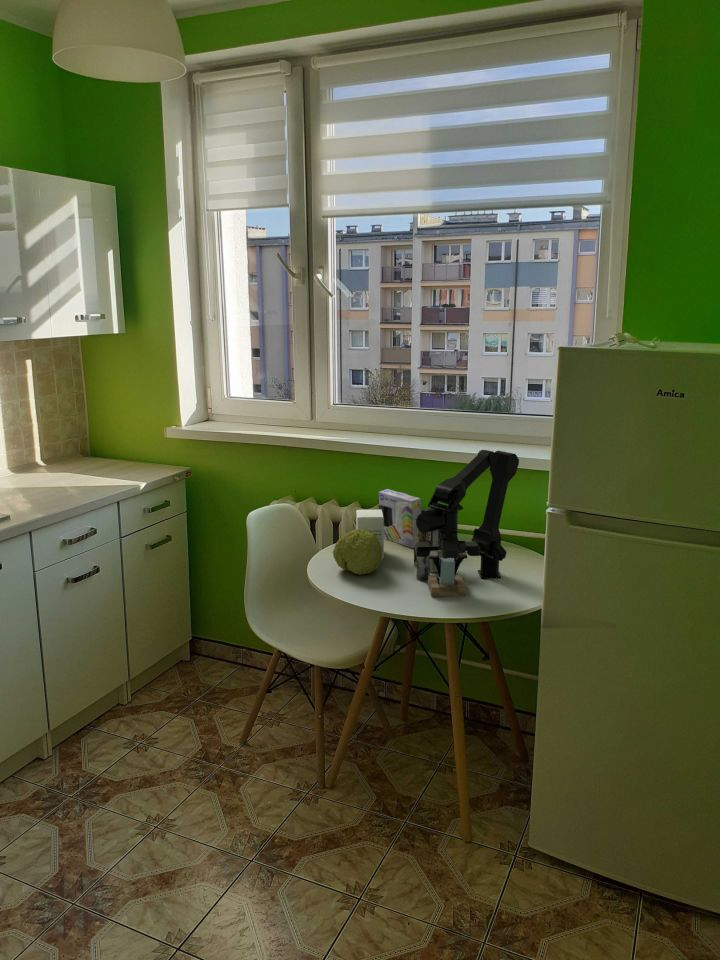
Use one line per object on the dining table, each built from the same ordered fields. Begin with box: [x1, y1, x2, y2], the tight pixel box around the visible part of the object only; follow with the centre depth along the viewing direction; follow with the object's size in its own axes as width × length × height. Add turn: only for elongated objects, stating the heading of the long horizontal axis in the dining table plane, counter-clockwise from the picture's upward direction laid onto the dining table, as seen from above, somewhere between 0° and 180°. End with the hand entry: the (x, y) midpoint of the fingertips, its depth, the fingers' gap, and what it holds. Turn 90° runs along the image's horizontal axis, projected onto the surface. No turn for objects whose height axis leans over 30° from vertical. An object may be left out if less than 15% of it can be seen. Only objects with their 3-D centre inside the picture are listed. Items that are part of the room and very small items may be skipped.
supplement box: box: [355, 509, 385, 560], centre depth 260 cm, size 9×9×15 cm
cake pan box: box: [377, 488, 422, 549], centre depth 273 cm, size 19×5×18 cm, turn 38°
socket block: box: [427, 574, 467, 598], centre depth 231 cm, size 10×10×3 cm
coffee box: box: [413, 518, 443, 573], centre depth 248 cm, size 9×6×16 cm
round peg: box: [416, 557, 431, 582], centre depth 240 cm, size 4×4×8 cm
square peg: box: [439, 558, 455, 585], centre depth 230 cm, size 4×4×8 cm
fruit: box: [332, 528, 383, 576], centre depth 245 cm, size 16×14×15 cm
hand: (446, 576), depth 230 cm, fingers closed on square peg, 4 cm apart
